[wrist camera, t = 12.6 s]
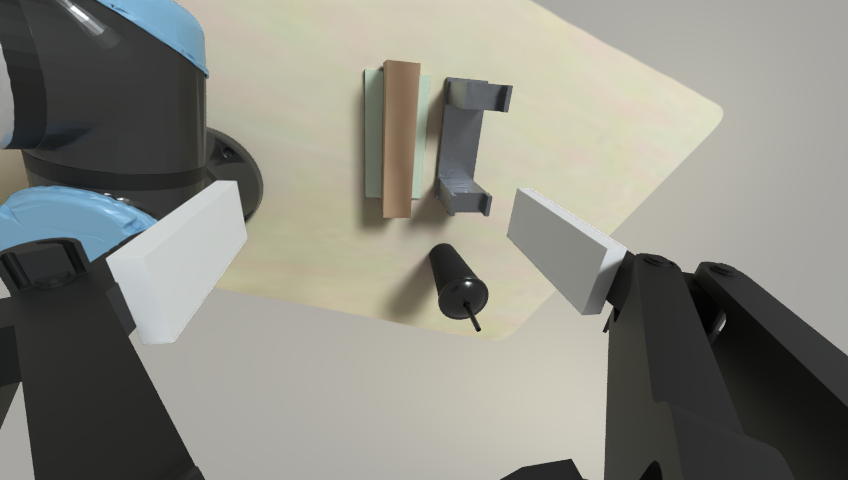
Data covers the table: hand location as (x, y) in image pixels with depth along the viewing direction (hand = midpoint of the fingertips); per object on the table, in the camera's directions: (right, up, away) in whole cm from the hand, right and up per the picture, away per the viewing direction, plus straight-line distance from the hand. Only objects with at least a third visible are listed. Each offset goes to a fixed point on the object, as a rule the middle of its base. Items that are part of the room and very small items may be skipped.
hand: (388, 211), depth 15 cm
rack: (+7, +14, +34) cm, 37 cm away
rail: (-3, +14, +32) cm, 34 cm away
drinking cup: (+5, -4, +43) cm, 43 cm away
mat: (-3, +14, +32) cm, 35 cm away
